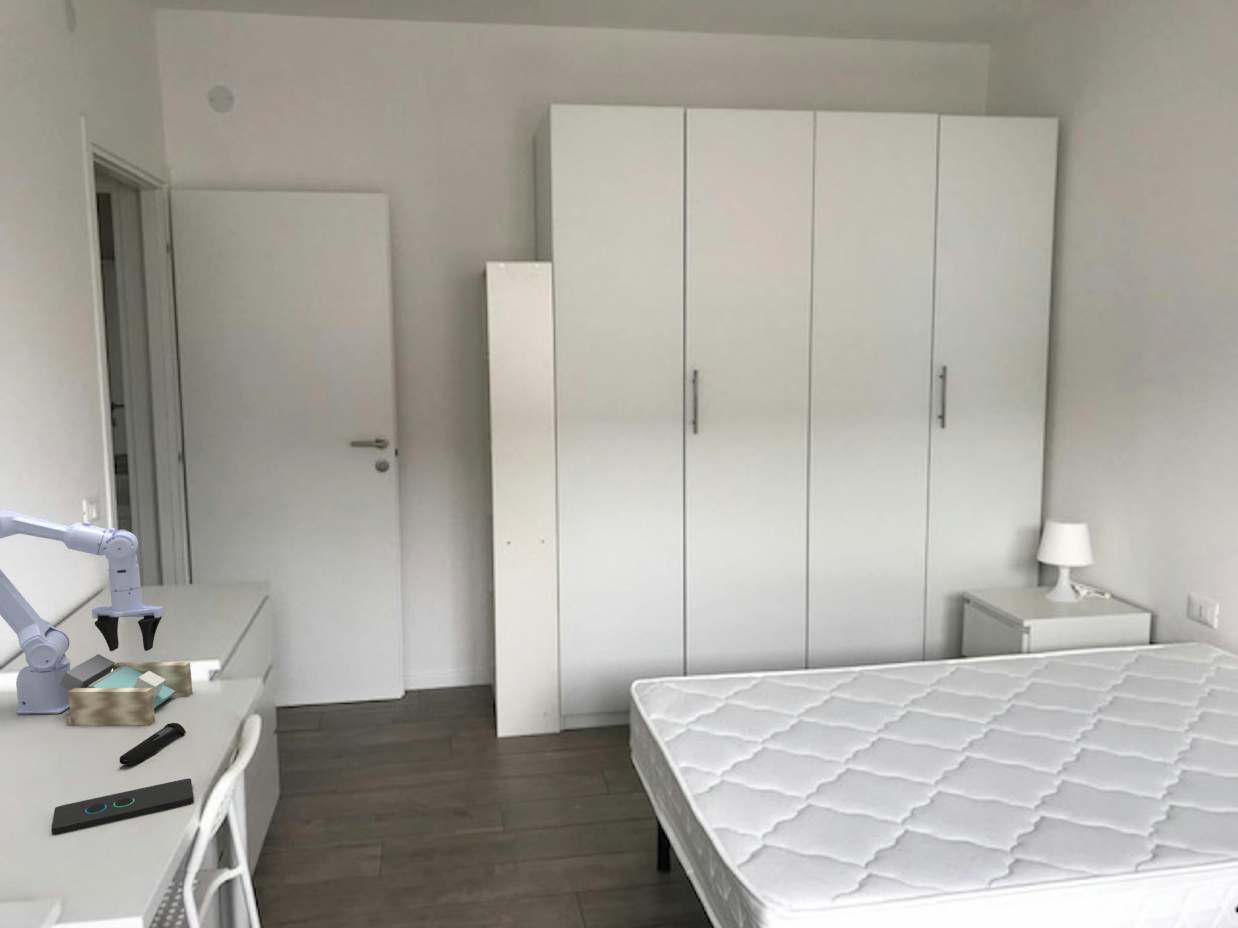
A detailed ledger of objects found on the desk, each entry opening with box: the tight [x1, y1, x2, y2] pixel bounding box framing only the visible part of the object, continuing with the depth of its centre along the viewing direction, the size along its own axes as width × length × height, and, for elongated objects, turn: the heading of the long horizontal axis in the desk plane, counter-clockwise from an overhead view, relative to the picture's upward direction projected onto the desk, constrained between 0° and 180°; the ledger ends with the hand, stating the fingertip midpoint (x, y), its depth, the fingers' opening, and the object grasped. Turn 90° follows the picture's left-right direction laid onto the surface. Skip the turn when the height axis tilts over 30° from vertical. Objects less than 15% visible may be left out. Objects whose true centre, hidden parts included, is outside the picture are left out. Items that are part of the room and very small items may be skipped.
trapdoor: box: [60, 653, 175, 709], centre depth 190 cm, size 18×12×4 cm, turn 88°
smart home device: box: [51, 777, 195, 836], centre depth 149 cm, size 8×2×20 cm
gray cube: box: [133, 671, 166, 699], centre depth 189 cm, size 4×4×4 cm
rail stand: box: [65, 661, 193, 726], centre depth 190 cm, size 17×17×7 cm
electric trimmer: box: [119, 722, 187, 766], centre depth 170 cm, size 4×16×3 cm, turn 170°
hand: (131, 649), depth 196 cm, fingers open, 7 cm apart
